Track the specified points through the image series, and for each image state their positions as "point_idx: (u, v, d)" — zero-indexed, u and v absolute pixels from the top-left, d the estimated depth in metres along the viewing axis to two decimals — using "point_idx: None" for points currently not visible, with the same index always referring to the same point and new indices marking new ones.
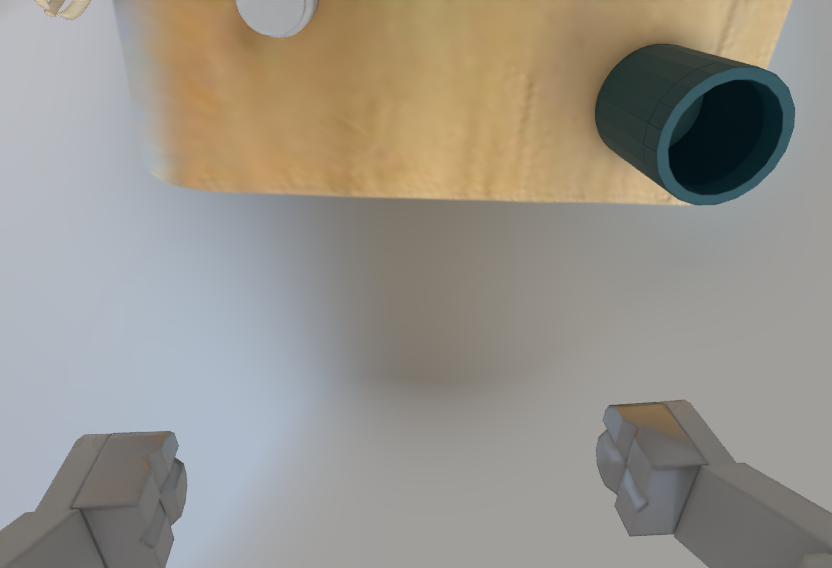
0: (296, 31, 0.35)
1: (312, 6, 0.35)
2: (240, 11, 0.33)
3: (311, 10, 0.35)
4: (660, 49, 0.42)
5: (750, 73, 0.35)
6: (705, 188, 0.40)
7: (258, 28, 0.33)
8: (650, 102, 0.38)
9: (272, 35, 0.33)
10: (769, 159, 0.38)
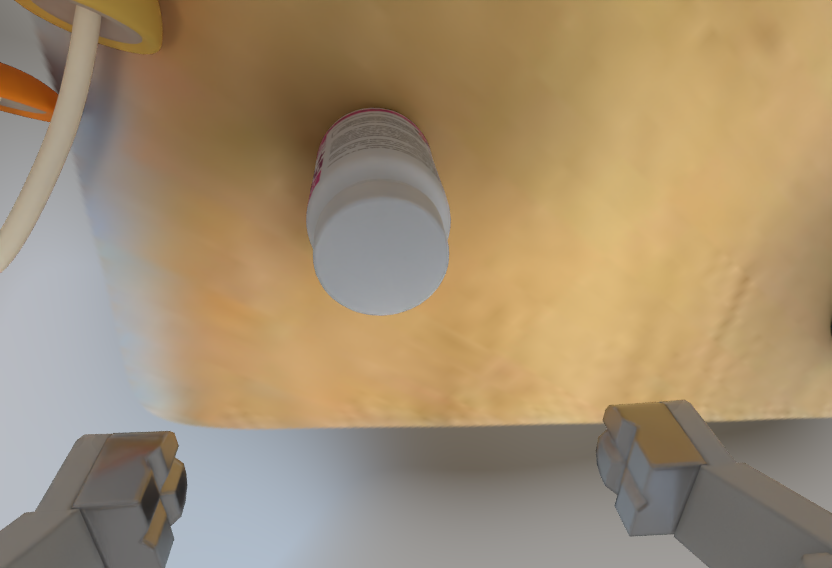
0: None
1: (447, 237, 0.19)
2: (322, 280, 0.16)
3: None
4: None
5: None
6: None
7: (355, 305, 0.17)
8: None
9: (381, 314, 0.17)
10: None
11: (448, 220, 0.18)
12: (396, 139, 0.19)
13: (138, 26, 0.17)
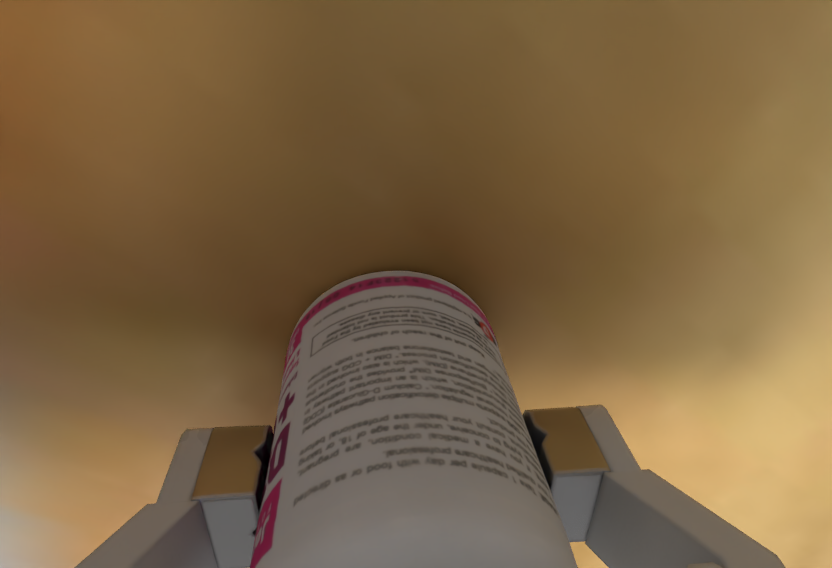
0: None
1: None
2: None
3: None
4: None
5: None
6: None
7: None
8: None
9: None
10: None
11: None
12: (452, 403, 0.08)
13: None
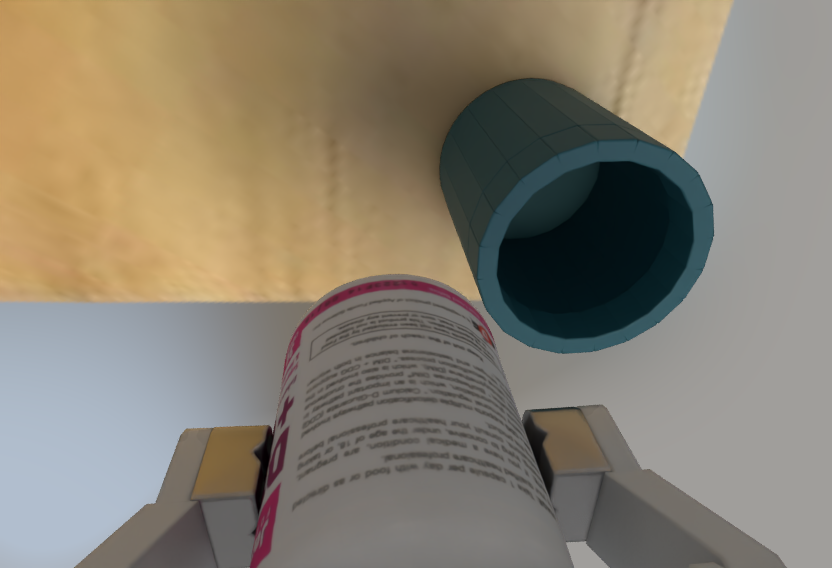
0: None
1: None
2: None
3: None
4: (518, 90, 0.27)
5: (625, 150, 0.19)
6: (580, 321, 0.24)
7: None
8: (475, 188, 0.23)
9: None
10: (676, 284, 0.22)
11: None
12: (450, 408, 0.08)
13: None
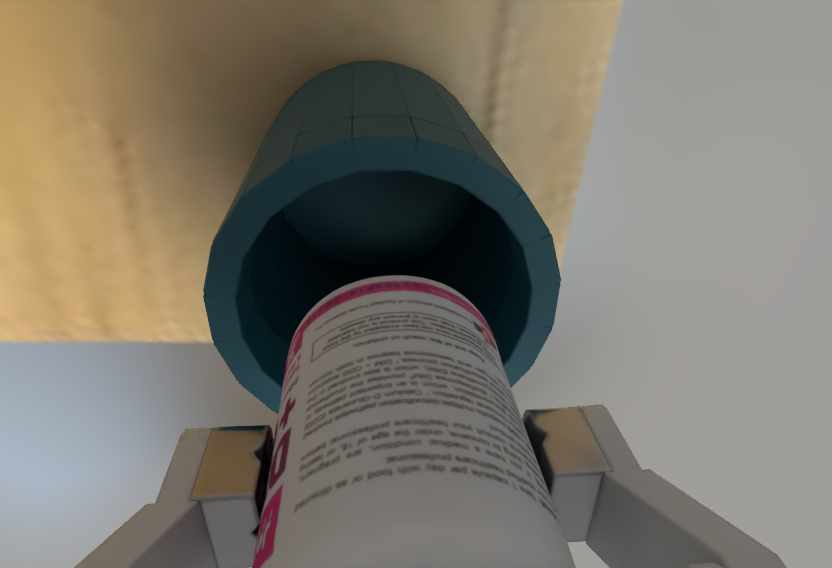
0: None
1: None
2: None
3: None
4: (340, 73, 0.20)
5: (400, 154, 0.12)
6: None
7: None
8: None
9: None
10: (516, 347, 0.16)
11: None
12: (452, 409, 0.08)
13: None
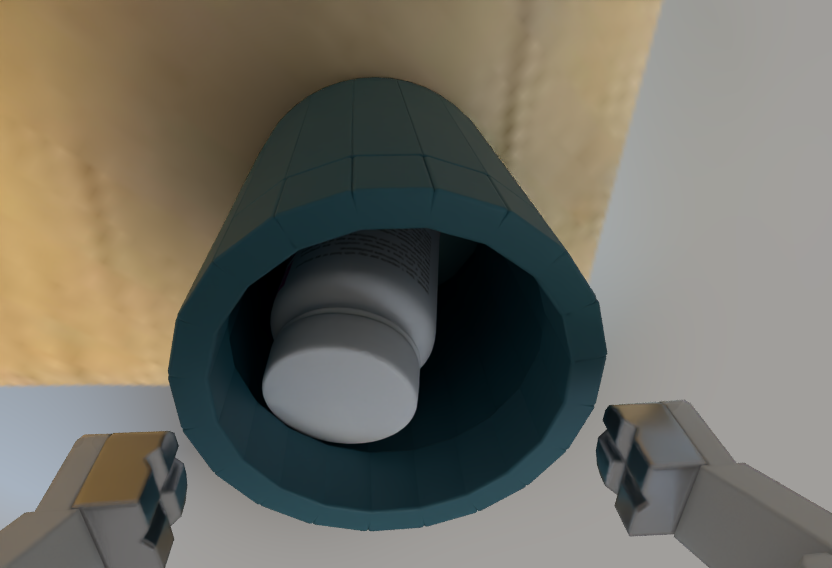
0: None
1: (431, 351, 0.16)
2: (273, 410, 0.14)
3: (427, 357, 0.16)
4: (339, 93, 0.17)
5: (413, 209, 0.10)
6: (409, 469, 0.15)
7: (311, 433, 0.15)
8: None
9: (340, 442, 0.15)
10: (549, 428, 0.13)
11: (430, 339, 0.15)
12: (382, 232, 0.16)
13: None
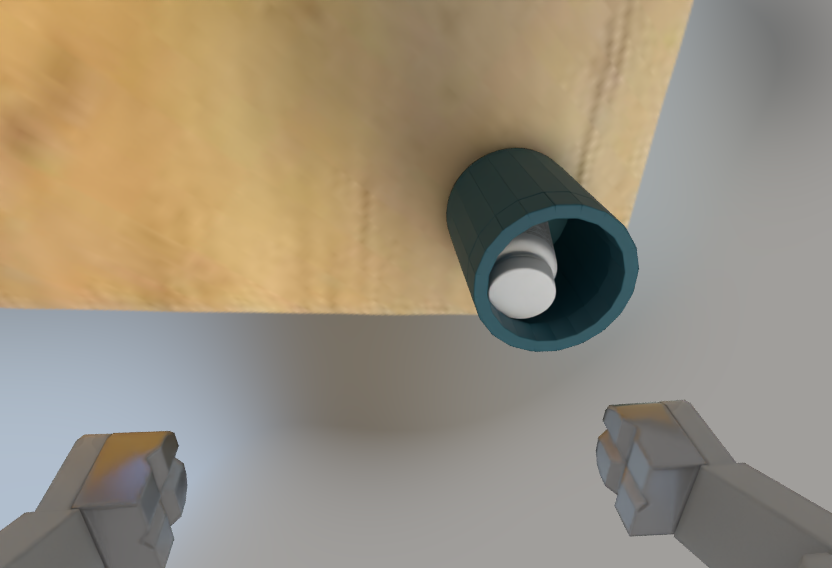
0: None
1: (553, 279, 0.35)
2: (490, 300, 0.33)
3: None
4: (505, 158, 0.36)
5: (574, 211, 0.29)
6: (548, 328, 0.34)
7: (504, 312, 0.34)
8: (473, 233, 0.32)
9: (515, 318, 0.34)
10: (614, 302, 0.32)
11: (555, 272, 0.34)
12: None
13: None
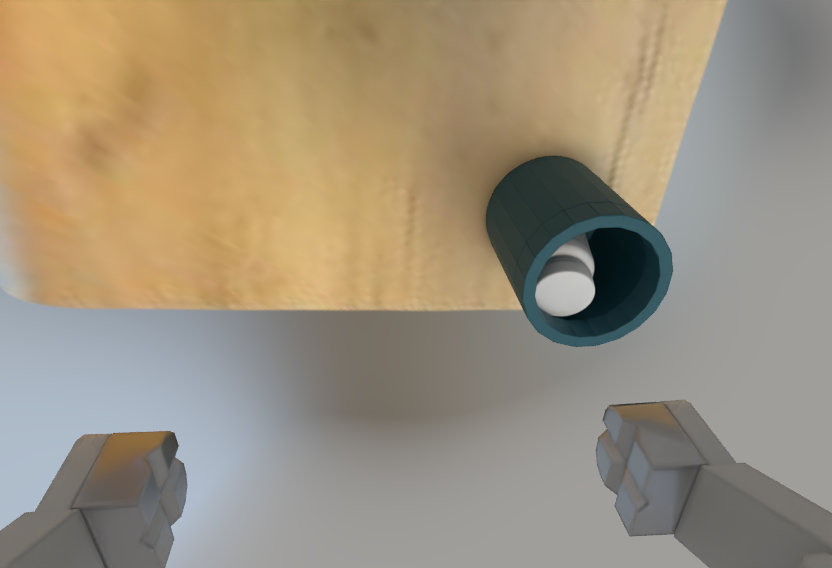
0: None
1: None
2: None
3: None
4: (545, 167, 0.39)
5: (616, 221, 0.31)
6: (587, 325, 0.37)
7: (546, 311, 0.37)
8: (520, 239, 0.35)
9: (556, 315, 0.37)
10: (649, 301, 0.35)
11: (593, 273, 0.37)
12: None
13: None
